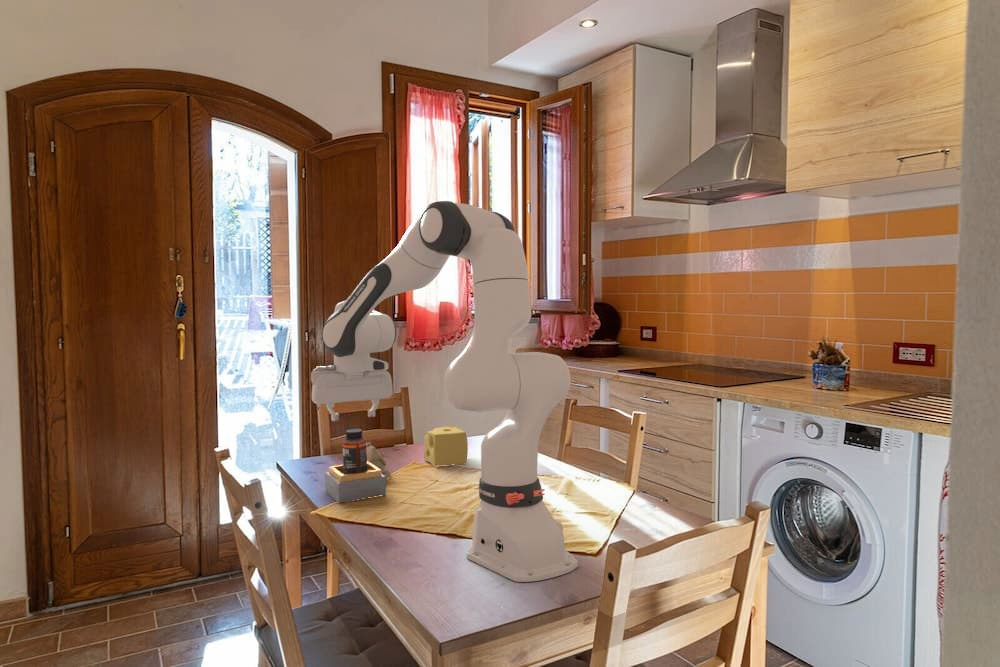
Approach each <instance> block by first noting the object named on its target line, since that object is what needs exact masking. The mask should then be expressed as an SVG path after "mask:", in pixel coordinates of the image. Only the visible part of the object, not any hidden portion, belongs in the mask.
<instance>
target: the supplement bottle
mask: <svg viewBox="0 0 1000 667" xmlns="http://www.w3.org/2000/svg"><path fill="white" fill-rule="evenodd" d="M345 436H346V437H345V438H344V439H343V440H342V463H343V464H342V465H343V470H344V475H345V474H351V473H358V472H365V471H367V449H366V442H367V440H366V438H365V437H363V430H362V429H360V428H352V429H351V428H350V429H347V430H346V432H345Z"/></svg>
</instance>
